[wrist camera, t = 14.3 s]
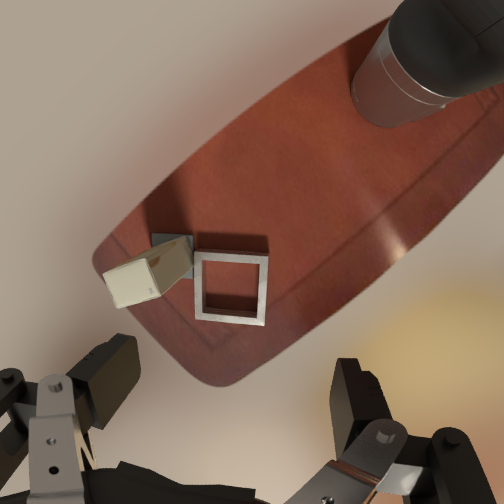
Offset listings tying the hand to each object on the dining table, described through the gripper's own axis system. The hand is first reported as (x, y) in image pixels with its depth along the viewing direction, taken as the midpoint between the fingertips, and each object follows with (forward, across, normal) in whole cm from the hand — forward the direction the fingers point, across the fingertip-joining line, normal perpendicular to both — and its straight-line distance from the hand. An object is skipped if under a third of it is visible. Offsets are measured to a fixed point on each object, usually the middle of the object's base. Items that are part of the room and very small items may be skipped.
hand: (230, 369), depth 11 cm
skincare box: (+30, +14, +4) cm, 33 cm away
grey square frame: (+30, +5, +7) cm, 31 cm away
